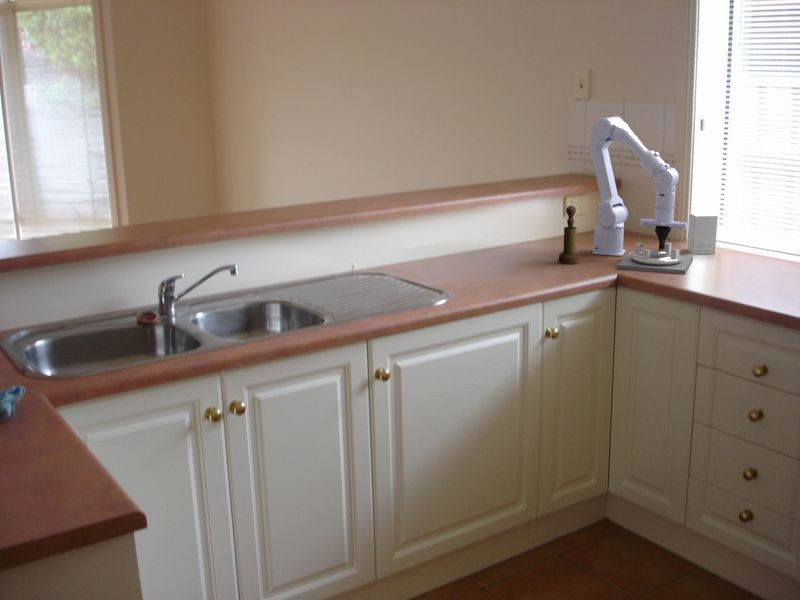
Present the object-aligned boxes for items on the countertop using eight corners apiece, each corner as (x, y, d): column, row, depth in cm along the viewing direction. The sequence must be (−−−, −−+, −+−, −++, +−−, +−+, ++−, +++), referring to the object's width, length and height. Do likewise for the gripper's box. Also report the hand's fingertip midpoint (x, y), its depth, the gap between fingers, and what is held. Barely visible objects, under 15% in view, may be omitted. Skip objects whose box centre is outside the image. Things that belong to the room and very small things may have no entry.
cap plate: (617, 268, 290) (617, 264, 290) (629, 255, 308) (629, 251, 307) (685, 274, 282) (685, 269, 282) (693, 259, 300) (693, 255, 300)
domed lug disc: (665, 267, 284) (666, 253, 283) (622, 260, 295) (622, 246, 294) (690, 259, 295) (691, 245, 294) (647, 252, 305) (648, 239, 304)
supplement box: (715, 254, 308) (718, 215, 304) (692, 254, 308) (695, 216, 304) (708, 249, 315) (711, 211, 311) (686, 249, 315) (689, 211, 312)
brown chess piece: (579, 259, 303) (581, 204, 298) (580, 264, 296) (582, 207, 291) (558, 259, 303) (559, 204, 298) (559, 264, 297) (561, 207, 292)
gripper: (637, 207, 296) (635, 249, 300) (684, 211, 289) (681, 254, 292) (645, 203, 302) (642, 245, 306) (690, 207, 294) (687, 250, 298)
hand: (661, 249), depth 299 cm, fingers closed, pressing on domed lug disc
